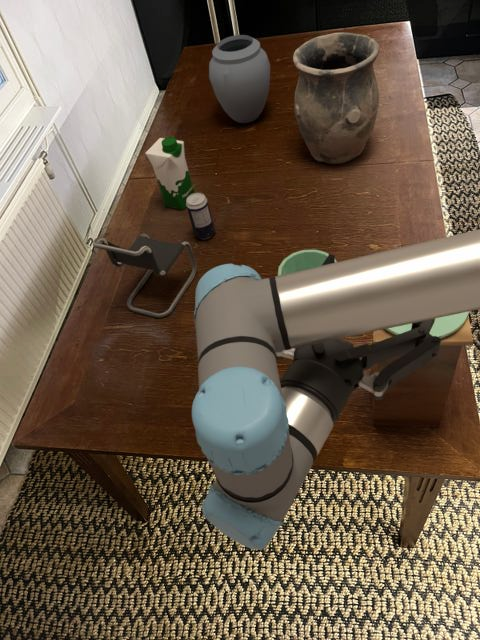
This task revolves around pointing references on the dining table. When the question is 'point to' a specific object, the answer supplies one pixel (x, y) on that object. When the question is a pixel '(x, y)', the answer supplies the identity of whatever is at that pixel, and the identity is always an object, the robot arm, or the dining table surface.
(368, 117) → the clay pot
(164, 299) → the dining table surface
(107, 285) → the dining table surface
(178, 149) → the milk carton
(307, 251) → the green round bowl
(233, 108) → the vase
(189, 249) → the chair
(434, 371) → the stand
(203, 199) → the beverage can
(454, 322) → the lid
